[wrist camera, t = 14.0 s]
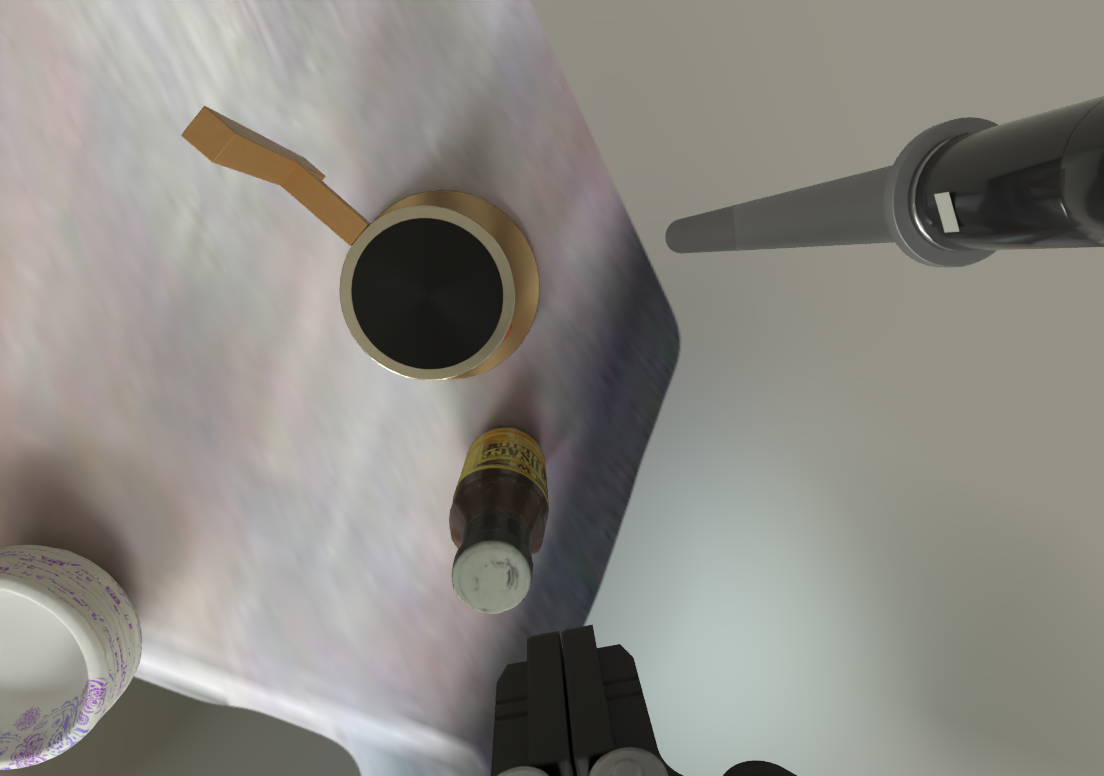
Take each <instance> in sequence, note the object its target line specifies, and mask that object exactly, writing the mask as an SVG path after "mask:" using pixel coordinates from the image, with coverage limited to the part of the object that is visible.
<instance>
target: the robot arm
mask: <svg viewBox="0 0 1104 776" xmlns="http://www.w3.org/2000/svg"><path fill="white" fill-rule="evenodd" d="M908 209H909V214H910V218H911V221H912V223H913V226H914V227H915V229H916V231H917V232H918V234H919V235H920V236H921V237H922V238H923V239H924V240H925V241H926V242H927V243H928V244H930V245H932V246H933V247H935V248H937V249H940V250H944V251H949V252H966V251H973V250H1006V249H1007V250H1008V249H1042V248H1043V249H1044V248H1077V247H1104V96H1103V97H1099V98H1095V99H1092V100H1088V101H1085V102H1081V103H1077V104H1074V105H1070V106H1066V107H1063V108H1059V109H1056V110H1053V111H1048V112H1045V113H1041V114H1037V115H1034V116H1030V117H1027V118H1023V119H1020V120H1016V121H1012V122H1009V123H1005V124H1001V125H998V126H993V127H990V128H986V129H983V130H979V131H975V132H969V133H964V134H960V135H956V136H953V137H950V138H948V139H946V140H944V141H942V142H940V143H939V144H937V145H936V146H935V147H933V148H932V149H931V150H930V151H929V152H928V153H927V154H926V155H925V156H924V157H923V159H922V160H921V162H920V163H919V165H918V166H917V168H916V170H915V172H914V174H913V177H912V179H911V183H910V187H909V193H908ZM561 633H562V643H561V638H560V633H559V631H556V632H551V633H545V634H540V635H534V636H529V637H527V661H525V662H520V663H514V664H509V665H507V666H506V668H505V669H504V671H503V673H502V675H501V676H500V678H499V680H498V682H497V688H496V705H495V721H494V737H493V753H492V770H491V776H683V775H681V774H679V773H677V772H676V771H674V770H673V769H672V768H670V767H669V766H668V765H667V764H666V763H665V761H664V760H663V759H662V757H661V755H660V753H659V751H658V748H657V744H656V740H655V737H654V733H653V729H652V725H651V722H650V718H649V714H648V711H647V707H646V703H645V699H644V696H643V692H642V688H641V684H640V681H639V677H638V673H637V669H636V666H635V662H634V658H633V657H632V656H631V655H630V654H629V653H628V652H627V651H626V650H625V649H624V648H623V647H622V646H621V645H620V644H618V645H613V646H607V647H602V648H597V647H596V642H595V636H594V630H593V625H588V626H583V627H577V628H572V629H566V630H561ZM562 644H563V648H562ZM723 776H797V775H795V774H793V773H791V772H790V771H788V770H786V769H784V768H782V767H781V766H779V765H776V764H773V763H770V762H765V761H746V762H742V763H739V764H737V765H735V766H733V767H731V768H730V769H729V770H728V771H727V772H726V773H725V774H724V775H723Z"/></svg>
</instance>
